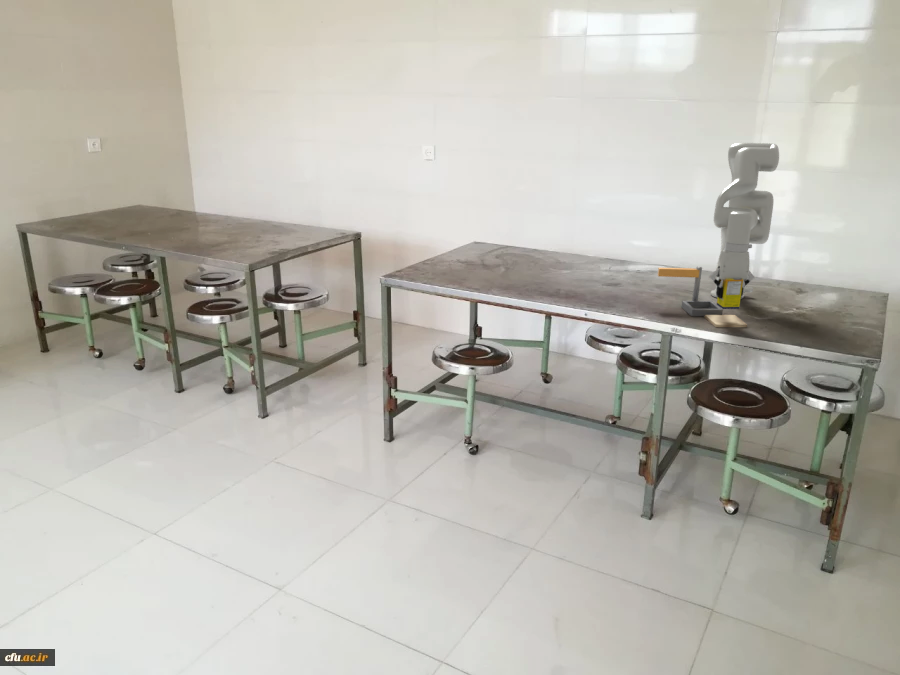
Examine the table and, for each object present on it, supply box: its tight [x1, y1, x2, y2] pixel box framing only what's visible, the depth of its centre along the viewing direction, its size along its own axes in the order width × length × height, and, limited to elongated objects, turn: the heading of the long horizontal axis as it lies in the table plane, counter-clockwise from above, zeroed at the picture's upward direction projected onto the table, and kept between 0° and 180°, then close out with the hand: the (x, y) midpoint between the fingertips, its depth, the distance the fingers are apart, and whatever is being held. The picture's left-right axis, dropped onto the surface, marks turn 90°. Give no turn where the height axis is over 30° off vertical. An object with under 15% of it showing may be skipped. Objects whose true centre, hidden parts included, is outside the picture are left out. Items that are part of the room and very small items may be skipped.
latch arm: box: [657, 266, 703, 301], centre depth 260 cm, size 16×2×15 cm, turn 84°
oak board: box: [703, 314, 748, 328], centre depth 243 cm, size 11×11×1 cm
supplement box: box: [716, 279, 743, 310], centre depth 239 cm, size 6×6×11 cm
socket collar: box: [681, 300, 724, 317], centre depth 255 cm, size 11×11×2 cm
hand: (728, 297), depth 240 cm, fingers closed on supplement box, 6 cm apart
